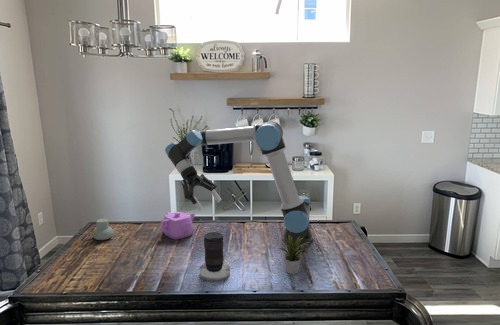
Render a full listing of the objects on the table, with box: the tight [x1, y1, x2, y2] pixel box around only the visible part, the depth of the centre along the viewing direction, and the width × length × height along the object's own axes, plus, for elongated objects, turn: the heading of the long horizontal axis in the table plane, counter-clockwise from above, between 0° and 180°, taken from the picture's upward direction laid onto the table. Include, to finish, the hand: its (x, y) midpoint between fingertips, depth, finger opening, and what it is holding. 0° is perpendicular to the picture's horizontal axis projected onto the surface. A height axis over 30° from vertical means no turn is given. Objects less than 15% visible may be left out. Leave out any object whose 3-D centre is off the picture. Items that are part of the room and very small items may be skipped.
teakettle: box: [159, 211, 196, 241], centre depth 204 cm, size 17×17×12 cm
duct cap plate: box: [199, 261, 231, 283], centre depth 162 cm, size 13×13×3 cm
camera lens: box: [203, 231, 224, 272], centre depth 160 cm, size 8×8×15 cm
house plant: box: [278, 235, 311, 275], centre depth 162 cm, size 14×14×16 cm
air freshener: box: [92, 218, 115, 241], centre depth 199 cm, size 11×8×10 cm
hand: (210, 204), depth 180 cm, fingers open, 13 cm apart
